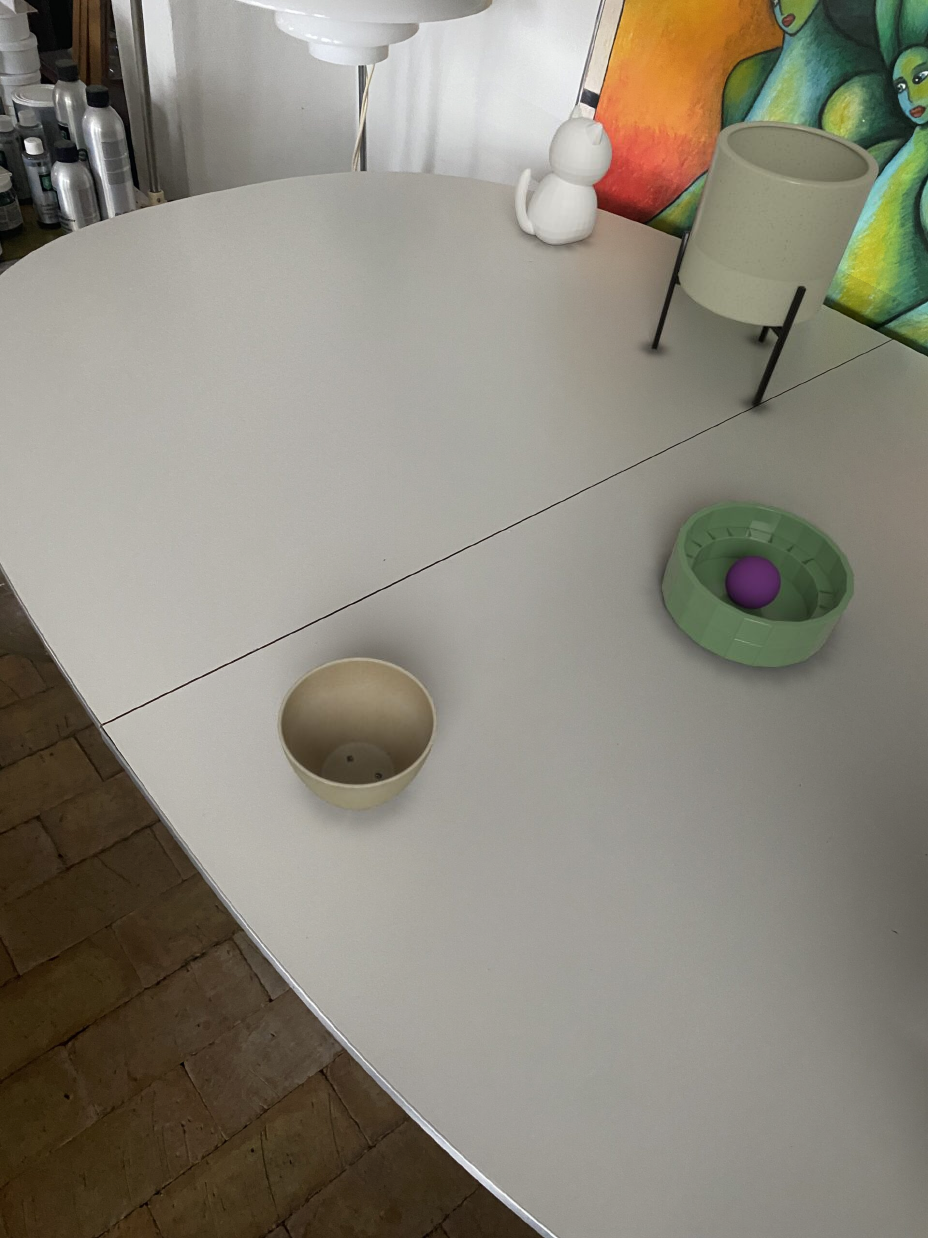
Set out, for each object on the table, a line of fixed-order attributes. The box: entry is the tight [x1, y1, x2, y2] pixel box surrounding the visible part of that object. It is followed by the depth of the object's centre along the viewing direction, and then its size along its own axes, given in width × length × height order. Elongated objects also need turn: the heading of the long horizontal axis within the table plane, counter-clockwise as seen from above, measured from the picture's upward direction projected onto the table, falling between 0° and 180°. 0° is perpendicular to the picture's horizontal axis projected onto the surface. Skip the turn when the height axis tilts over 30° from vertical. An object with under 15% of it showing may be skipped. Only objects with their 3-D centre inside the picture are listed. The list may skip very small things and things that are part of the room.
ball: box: [725, 556, 781, 609], centre depth 72 cm, size 4×4×4 cm
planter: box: [651, 120, 880, 408], centre depth 91 cm, size 15×16×23 cm
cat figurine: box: [514, 104, 613, 246], centre depth 112 cm, size 9×12×15 cm
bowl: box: [661, 501, 855, 668], centre depth 72 cm, size 14×14×6 cm
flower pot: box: [277, 656, 438, 811], centre depth 58 cm, size 10×10×7 cm
